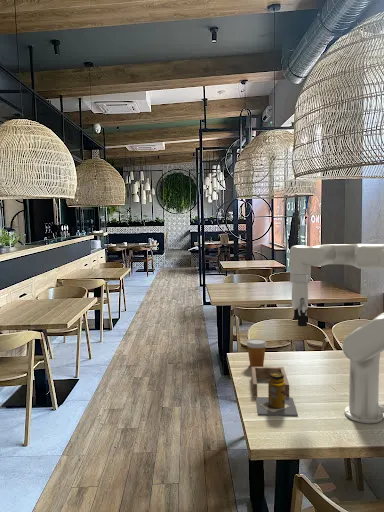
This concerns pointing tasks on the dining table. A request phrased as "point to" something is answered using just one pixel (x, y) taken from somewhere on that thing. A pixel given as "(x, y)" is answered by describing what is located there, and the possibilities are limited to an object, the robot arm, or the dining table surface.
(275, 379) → the condiment
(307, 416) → the dining table surface
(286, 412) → the mat
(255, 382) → the frame
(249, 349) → the disposable coffee cup
